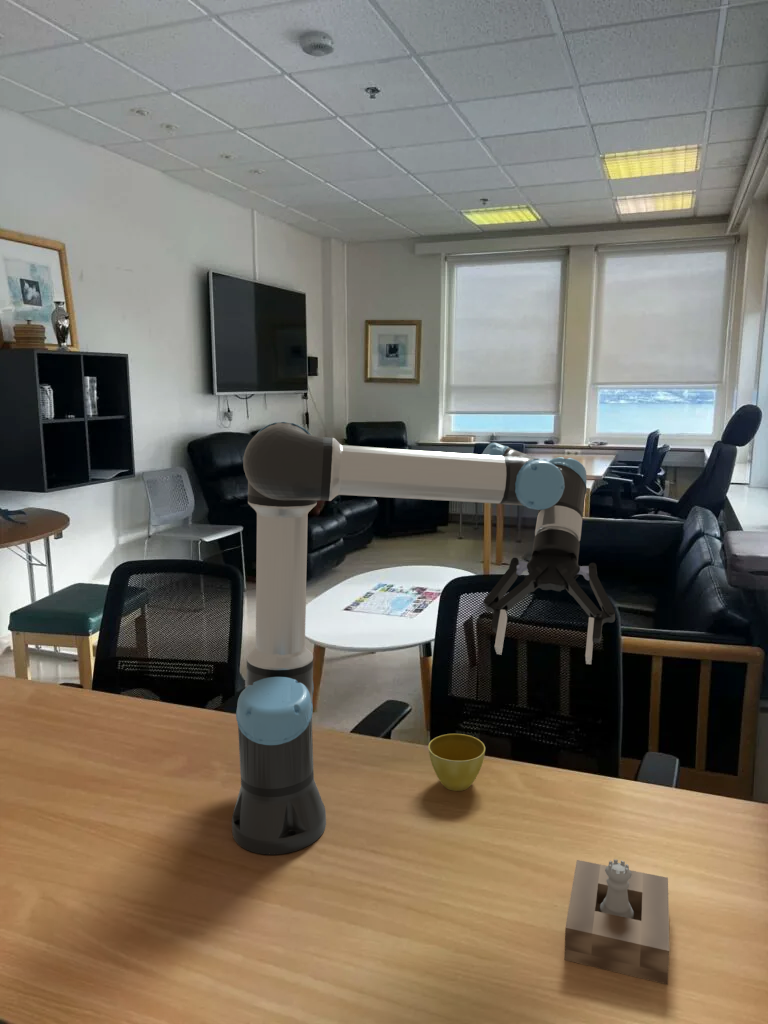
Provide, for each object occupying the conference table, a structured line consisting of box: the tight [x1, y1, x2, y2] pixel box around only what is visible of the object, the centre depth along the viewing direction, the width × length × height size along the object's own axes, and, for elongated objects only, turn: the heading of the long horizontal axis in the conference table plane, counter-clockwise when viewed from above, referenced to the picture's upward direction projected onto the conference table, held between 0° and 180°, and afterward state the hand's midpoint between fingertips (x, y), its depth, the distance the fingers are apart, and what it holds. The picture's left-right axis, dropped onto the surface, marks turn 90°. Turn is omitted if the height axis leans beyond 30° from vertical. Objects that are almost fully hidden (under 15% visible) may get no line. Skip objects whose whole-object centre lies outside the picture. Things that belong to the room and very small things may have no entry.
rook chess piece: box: [599, 858, 634, 919], centre depth 96 cm, size 4×4×8 cm
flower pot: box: [427, 733, 486, 792], centre depth 133 cm, size 10×10×7 cm
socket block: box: [563, 859, 670, 985], centre depth 97 cm, size 12×14×4 cm
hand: (542, 655), depth 114 cm, fingers open, 13 cm apart
